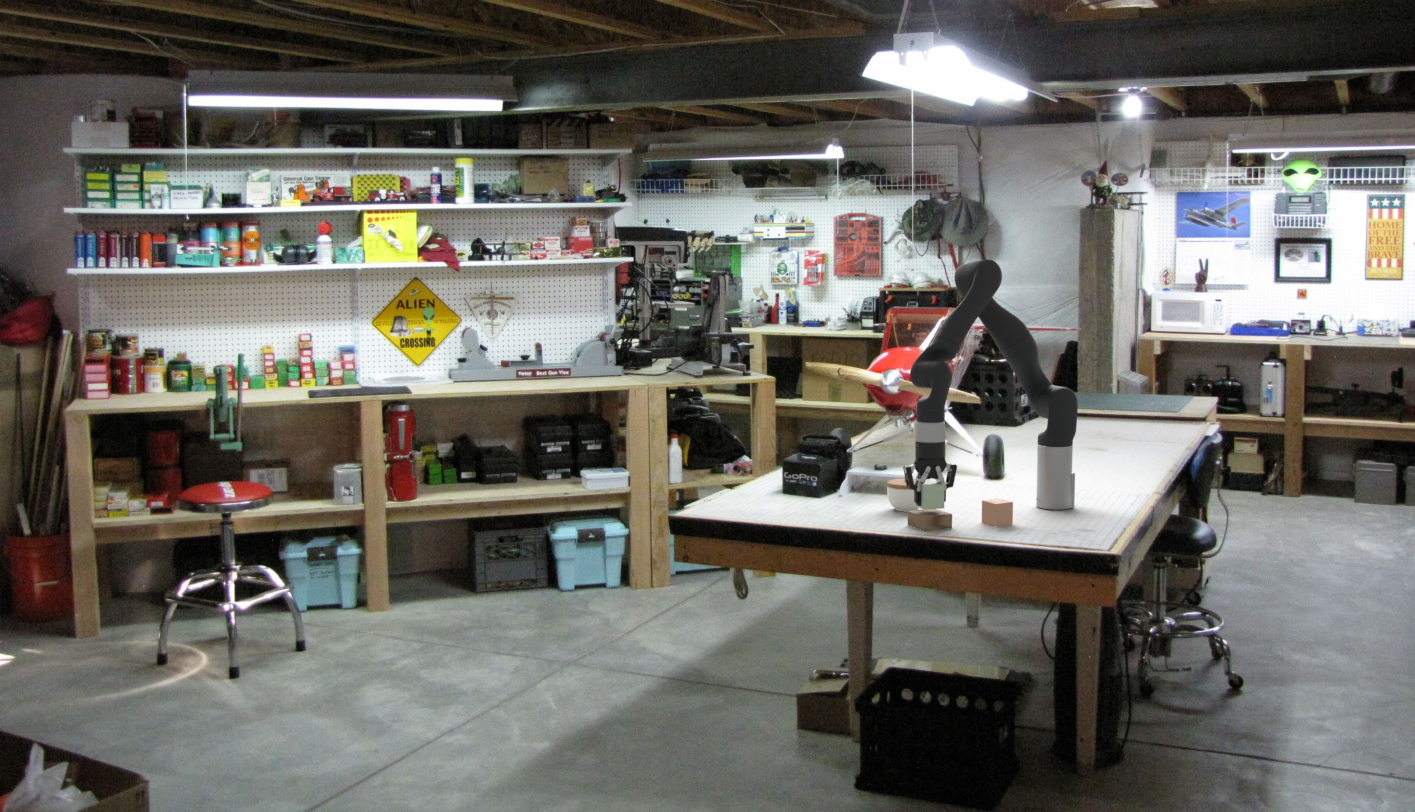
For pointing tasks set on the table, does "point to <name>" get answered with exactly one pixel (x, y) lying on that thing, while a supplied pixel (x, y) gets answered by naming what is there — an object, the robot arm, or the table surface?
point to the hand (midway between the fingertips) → (929, 504)
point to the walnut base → (929, 519)
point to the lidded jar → (901, 495)
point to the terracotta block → (997, 512)
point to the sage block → (932, 495)
